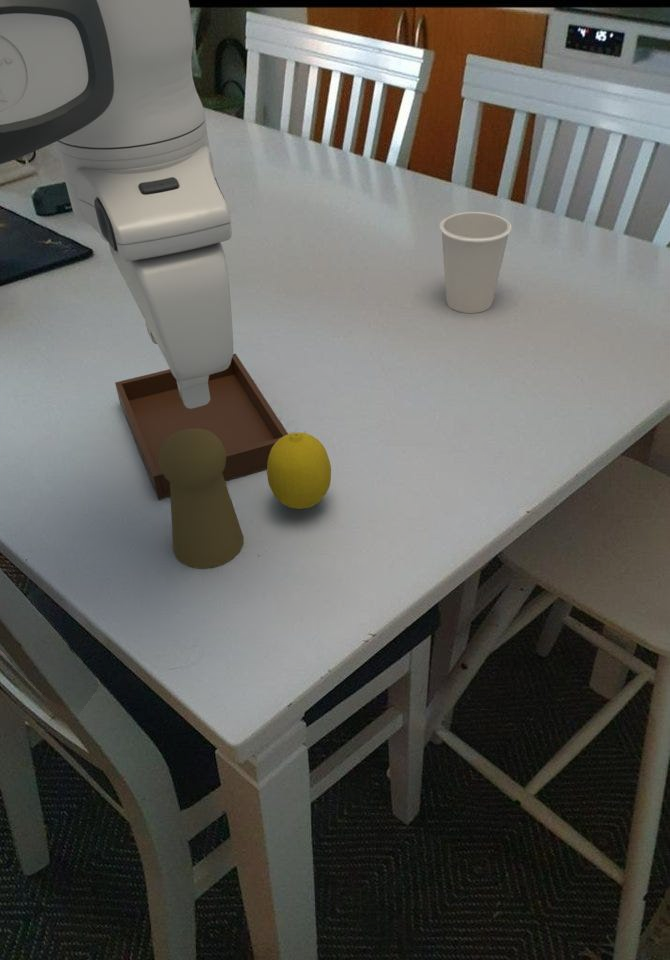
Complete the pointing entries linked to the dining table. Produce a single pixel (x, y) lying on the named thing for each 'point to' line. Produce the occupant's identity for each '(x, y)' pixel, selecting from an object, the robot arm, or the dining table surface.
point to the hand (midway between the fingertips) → (178, 368)
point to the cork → (200, 499)
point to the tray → (201, 420)
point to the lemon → (298, 470)
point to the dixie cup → (473, 258)
